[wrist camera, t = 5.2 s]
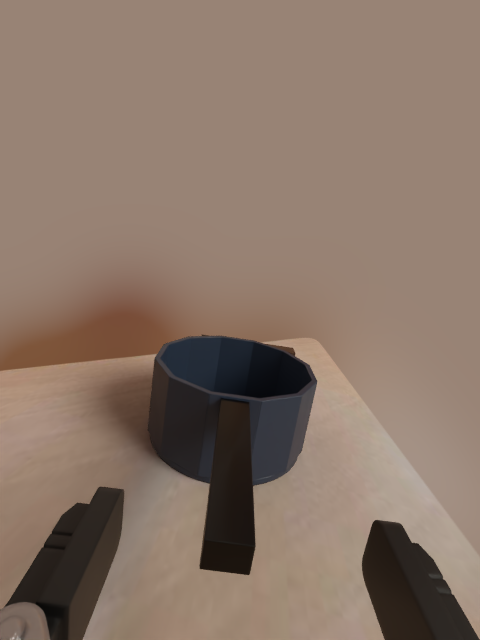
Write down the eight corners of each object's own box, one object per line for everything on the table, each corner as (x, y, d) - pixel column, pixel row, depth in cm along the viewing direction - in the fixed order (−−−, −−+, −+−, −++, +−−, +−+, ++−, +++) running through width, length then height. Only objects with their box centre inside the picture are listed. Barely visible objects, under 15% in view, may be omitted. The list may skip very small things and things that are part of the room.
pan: (46, 655, 17) (50, 516, 15) (166, 391, 44) (173, 328, 42) (360, 692, 17) (405, 561, 15) (288, 408, 44) (301, 347, 42)
